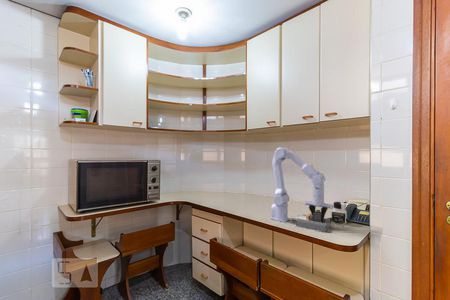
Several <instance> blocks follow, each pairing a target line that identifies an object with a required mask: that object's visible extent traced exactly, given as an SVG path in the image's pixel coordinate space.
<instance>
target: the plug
mask: <svg viewBox="0 0 450 300" xmlns="http://www.w3.org/2000/svg"><path fill="white" fill-rule="evenodd" d="M313 221H315V222H320V223H322V222H323V221H321V209H315V212H313Z"/></svg>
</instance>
